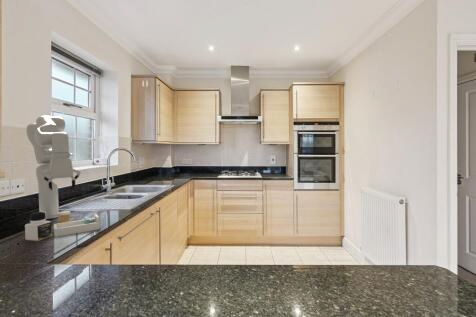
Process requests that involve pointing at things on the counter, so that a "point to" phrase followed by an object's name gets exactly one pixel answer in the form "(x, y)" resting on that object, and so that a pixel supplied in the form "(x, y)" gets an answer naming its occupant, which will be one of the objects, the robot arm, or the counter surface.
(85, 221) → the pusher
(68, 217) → the jar
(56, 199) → the robot arm
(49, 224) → the medicine bottle
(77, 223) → the lane
